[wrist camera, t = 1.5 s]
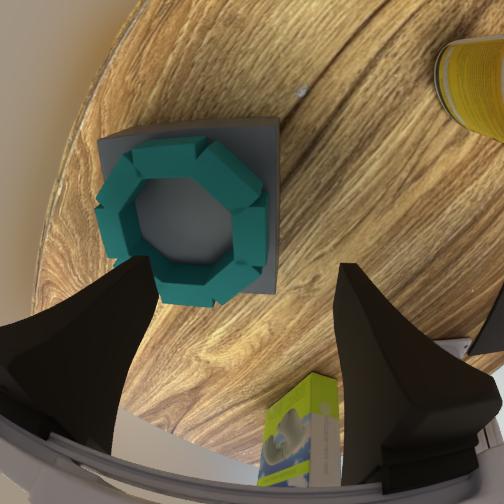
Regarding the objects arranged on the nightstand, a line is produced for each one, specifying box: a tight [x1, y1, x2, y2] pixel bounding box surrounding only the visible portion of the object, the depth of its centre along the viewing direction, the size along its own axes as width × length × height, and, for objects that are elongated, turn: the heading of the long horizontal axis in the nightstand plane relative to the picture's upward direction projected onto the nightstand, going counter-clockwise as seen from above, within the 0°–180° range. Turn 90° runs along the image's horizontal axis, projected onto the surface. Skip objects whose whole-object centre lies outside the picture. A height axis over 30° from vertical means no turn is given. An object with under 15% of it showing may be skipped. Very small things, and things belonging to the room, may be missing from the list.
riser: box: [97, 117, 280, 295], centre depth 18 cm, size 10×10×4 cm
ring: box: [95, 136, 269, 308], centre depth 16 cm, size 9×9×2 cm
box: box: [257, 372, 341, 488], centre depth 24 cm, size 10×4×17 cm, turn 155°
